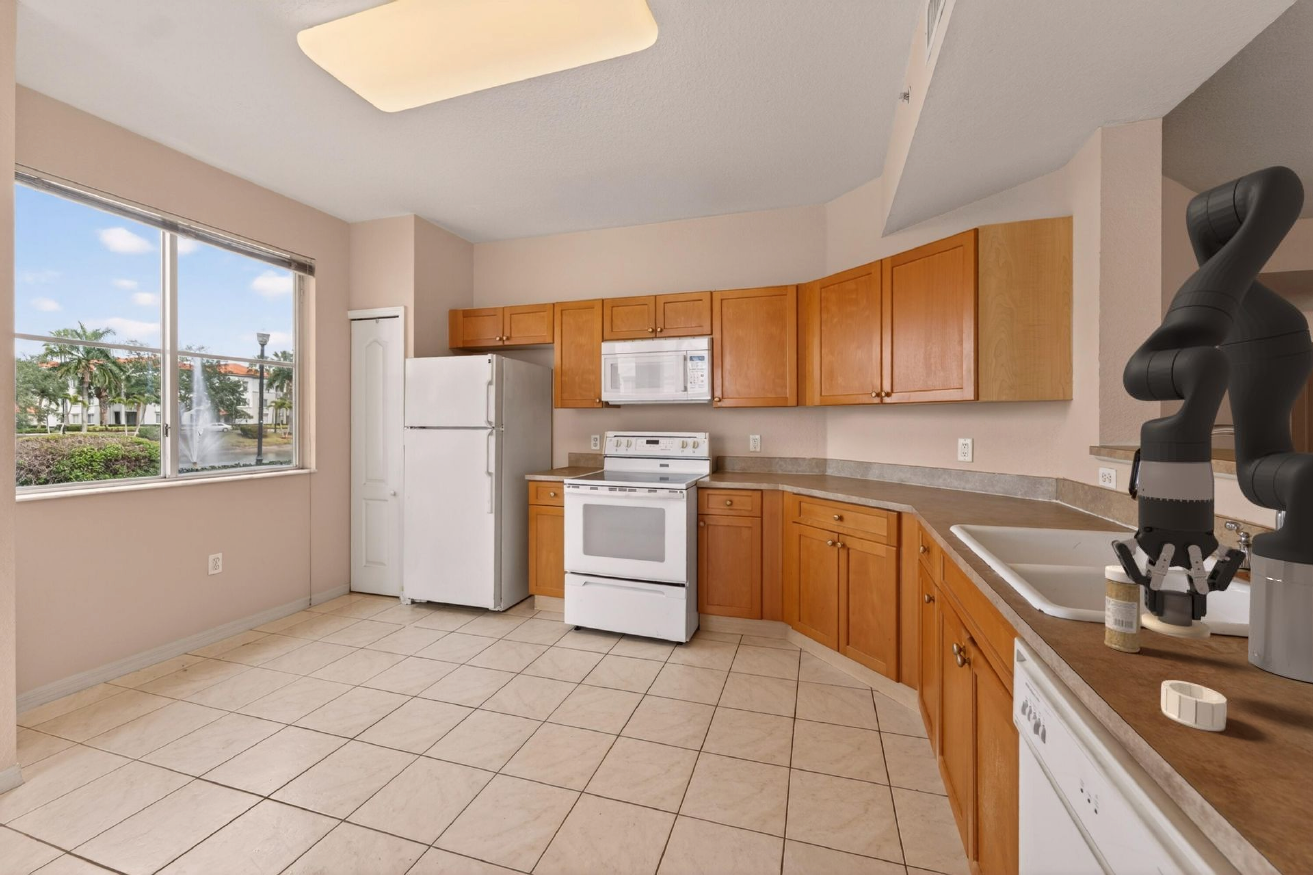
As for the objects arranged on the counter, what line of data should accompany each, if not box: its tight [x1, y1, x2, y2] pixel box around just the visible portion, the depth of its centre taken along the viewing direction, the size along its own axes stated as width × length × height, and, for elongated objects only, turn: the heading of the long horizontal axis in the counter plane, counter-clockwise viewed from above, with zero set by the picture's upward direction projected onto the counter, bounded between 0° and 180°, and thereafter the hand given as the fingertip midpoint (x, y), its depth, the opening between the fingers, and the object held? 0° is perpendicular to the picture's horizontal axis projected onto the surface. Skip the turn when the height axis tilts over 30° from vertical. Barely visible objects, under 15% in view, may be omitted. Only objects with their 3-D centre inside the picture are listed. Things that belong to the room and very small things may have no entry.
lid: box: [1141, 589, 1211, 640], centre depth 73 cm, size 7×7×5 cm
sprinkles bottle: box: [1103, 565, 1143, 653], centre depth 88 cm, size 5×5×13 cm
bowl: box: [1160, 679, 1228, 732], centre depth 67 cm, size 6×6×4 cm
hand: (1175, 616), depth 73 cm, fingers closed on lid, 3 cm apart
